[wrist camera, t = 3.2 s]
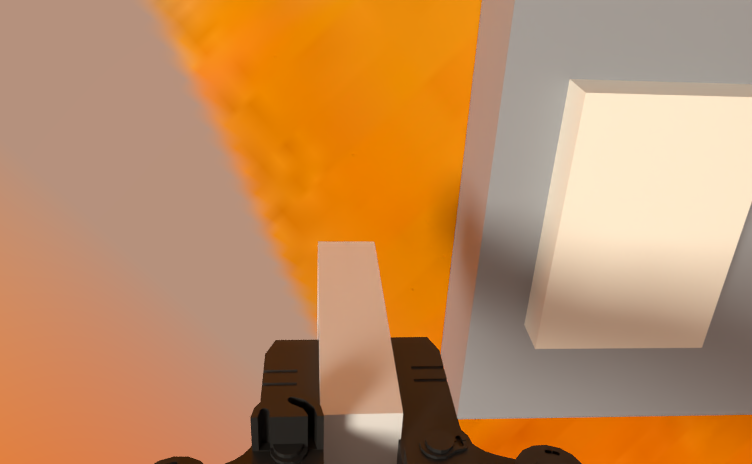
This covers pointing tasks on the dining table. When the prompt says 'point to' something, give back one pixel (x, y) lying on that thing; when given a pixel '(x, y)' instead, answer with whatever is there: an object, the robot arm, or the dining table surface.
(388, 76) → the dining table surface
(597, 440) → the dining table surface
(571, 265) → the card
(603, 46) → the grey drawer casing
